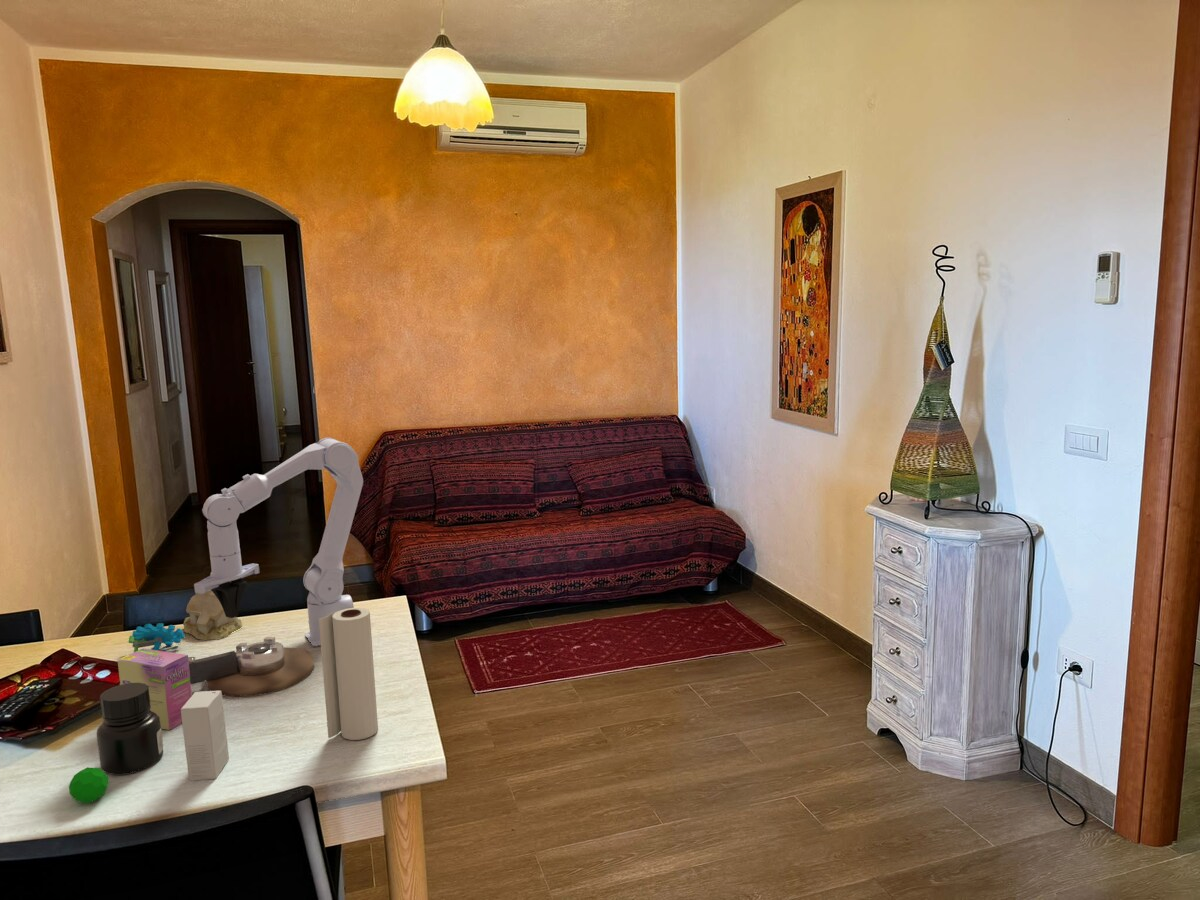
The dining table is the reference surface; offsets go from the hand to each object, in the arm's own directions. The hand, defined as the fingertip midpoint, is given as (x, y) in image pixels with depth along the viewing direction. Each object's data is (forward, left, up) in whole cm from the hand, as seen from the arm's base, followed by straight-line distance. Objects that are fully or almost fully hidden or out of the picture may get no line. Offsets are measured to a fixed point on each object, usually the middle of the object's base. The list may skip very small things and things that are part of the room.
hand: (231, 616), depth 176 cm
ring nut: (+2, +12, -8) cm, 14 cm away
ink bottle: (+21, +35, -10) cm, 42 cm away
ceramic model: (+2, -21, -10) cm, 23 cm away
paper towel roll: (-12, +46, -10) cm, 49 cm away
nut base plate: (-3, +11, -9) cm, 15 cm away
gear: (+13, -14, -10) cm, 22 cm away
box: (+16, +21, -10) cm, 28 cm away
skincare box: (+11, +45, -10) cm, 48 cm away
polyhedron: (+27, +44, -10) cm, 53 cm away
